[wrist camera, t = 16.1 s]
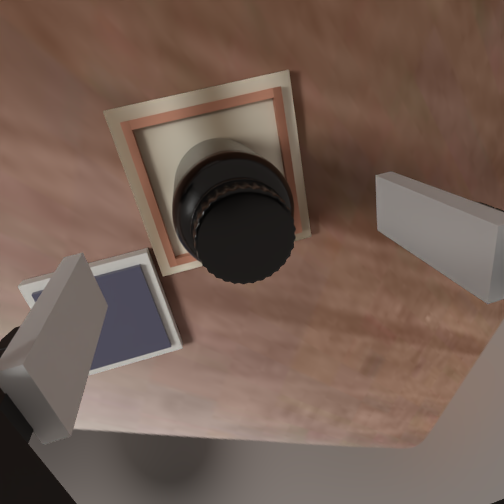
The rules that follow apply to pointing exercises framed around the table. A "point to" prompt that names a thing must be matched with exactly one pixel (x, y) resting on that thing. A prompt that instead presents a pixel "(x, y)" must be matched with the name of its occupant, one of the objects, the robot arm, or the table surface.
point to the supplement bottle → (233, 211)
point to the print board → (195, 131)
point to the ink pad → (125, 310)
